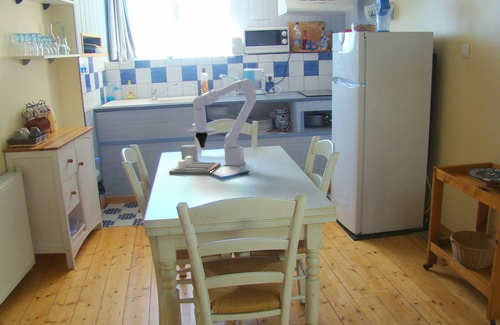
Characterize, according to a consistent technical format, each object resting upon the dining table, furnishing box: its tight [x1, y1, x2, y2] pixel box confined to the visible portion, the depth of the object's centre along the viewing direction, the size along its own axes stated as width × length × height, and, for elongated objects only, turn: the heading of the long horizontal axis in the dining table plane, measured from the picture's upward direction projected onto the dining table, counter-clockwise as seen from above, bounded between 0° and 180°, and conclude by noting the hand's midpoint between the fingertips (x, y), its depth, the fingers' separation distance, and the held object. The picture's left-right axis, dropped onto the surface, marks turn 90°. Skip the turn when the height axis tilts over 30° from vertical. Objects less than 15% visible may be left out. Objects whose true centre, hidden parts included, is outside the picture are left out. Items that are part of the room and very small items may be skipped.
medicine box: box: [180, 144, 199, 162], centre depth 244 cm, size 8×4×9 cm, turn 84°
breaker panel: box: [168, 161, 222, 176], centre depth 226 cm, size 20×18×2 cm
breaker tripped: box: [177, 159, 187, 169], centre depth 223 cm, size 2×4×4 cm, turn 164°
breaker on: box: [185, 156, 193, 164], centre depth 231 cm, size 2×4×4 cm, turn 164°
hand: (202, 147), depth 232 cm, fingers closed
